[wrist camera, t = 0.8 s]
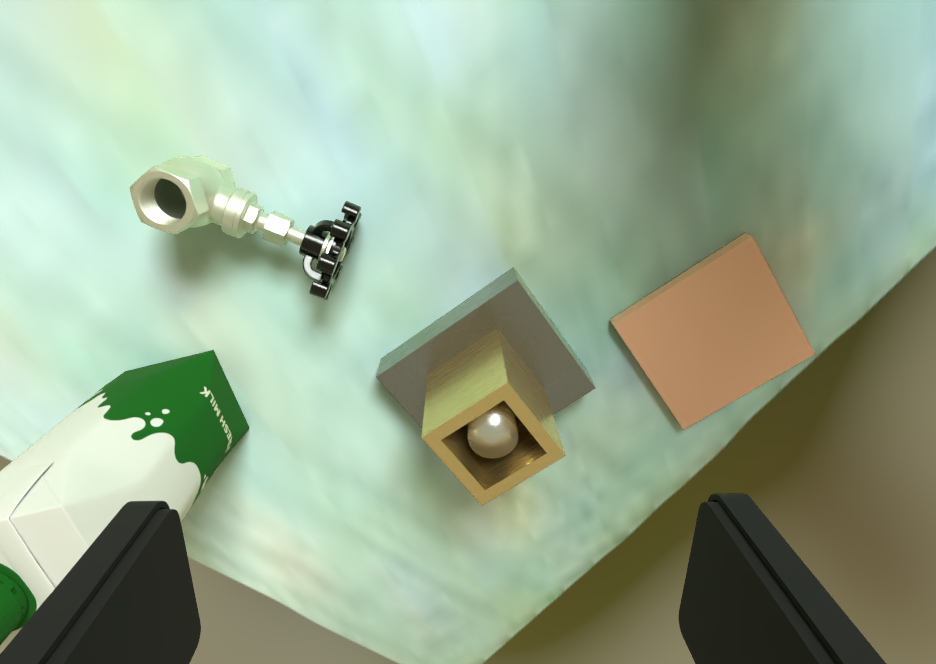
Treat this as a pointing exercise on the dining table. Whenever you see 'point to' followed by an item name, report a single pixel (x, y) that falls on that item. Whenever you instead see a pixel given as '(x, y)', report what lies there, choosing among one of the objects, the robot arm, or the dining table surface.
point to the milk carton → (109, 471)
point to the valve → (238, 214)
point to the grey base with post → (467, 324)
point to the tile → (714, 332)
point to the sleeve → (473, 393)
